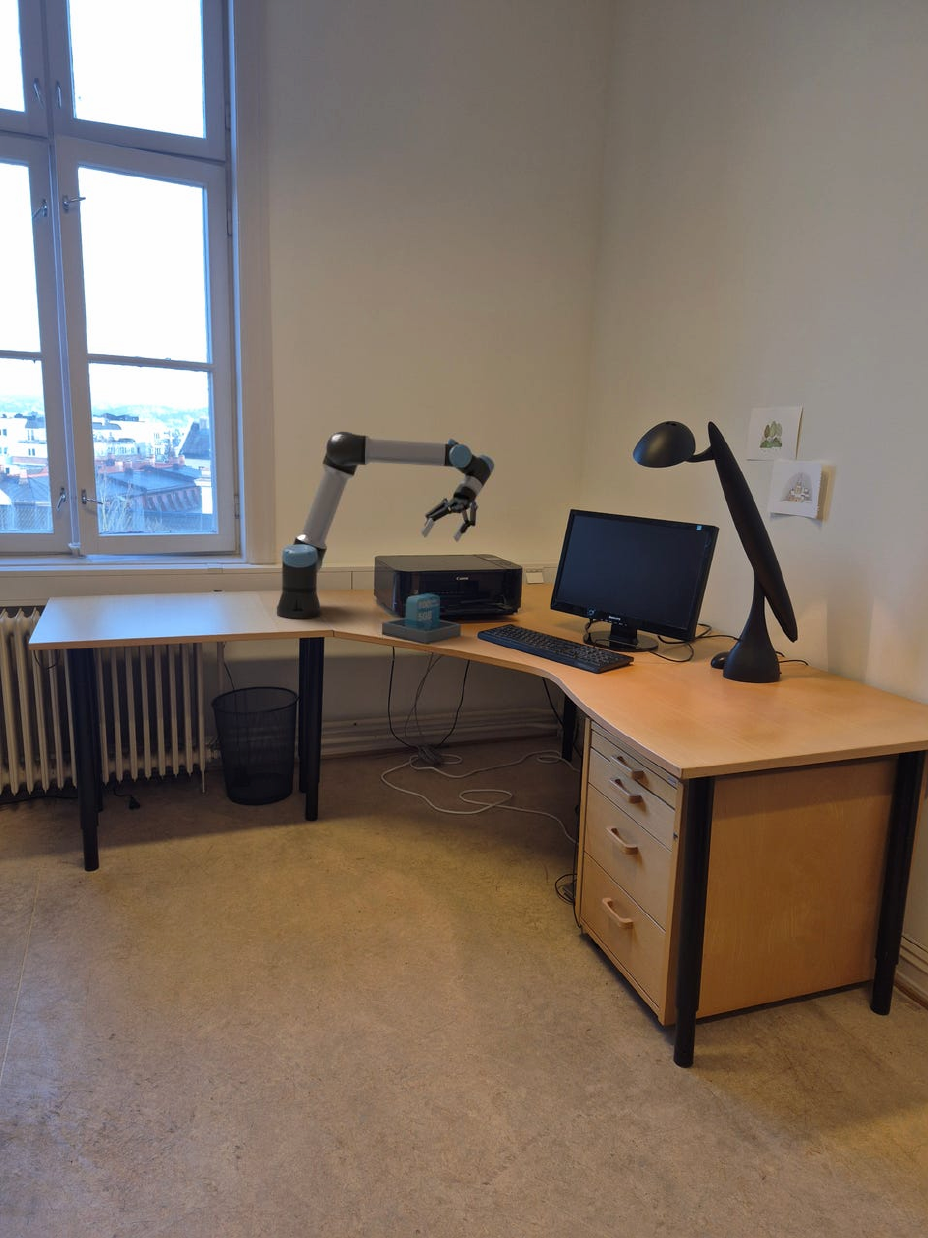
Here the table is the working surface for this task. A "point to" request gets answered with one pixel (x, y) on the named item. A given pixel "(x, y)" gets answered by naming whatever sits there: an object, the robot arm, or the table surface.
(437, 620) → the blue printed box
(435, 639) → the tray
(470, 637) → the table surface
